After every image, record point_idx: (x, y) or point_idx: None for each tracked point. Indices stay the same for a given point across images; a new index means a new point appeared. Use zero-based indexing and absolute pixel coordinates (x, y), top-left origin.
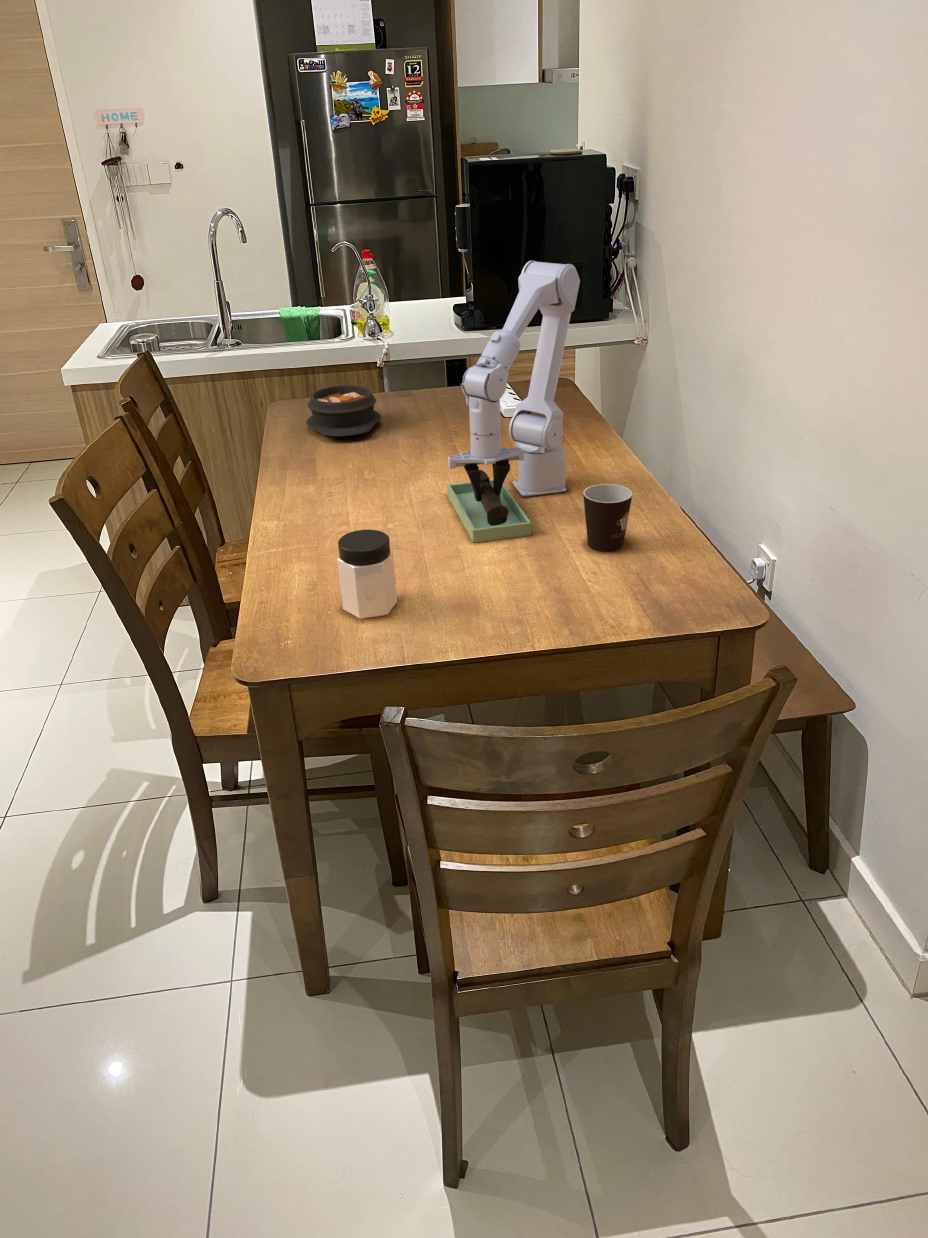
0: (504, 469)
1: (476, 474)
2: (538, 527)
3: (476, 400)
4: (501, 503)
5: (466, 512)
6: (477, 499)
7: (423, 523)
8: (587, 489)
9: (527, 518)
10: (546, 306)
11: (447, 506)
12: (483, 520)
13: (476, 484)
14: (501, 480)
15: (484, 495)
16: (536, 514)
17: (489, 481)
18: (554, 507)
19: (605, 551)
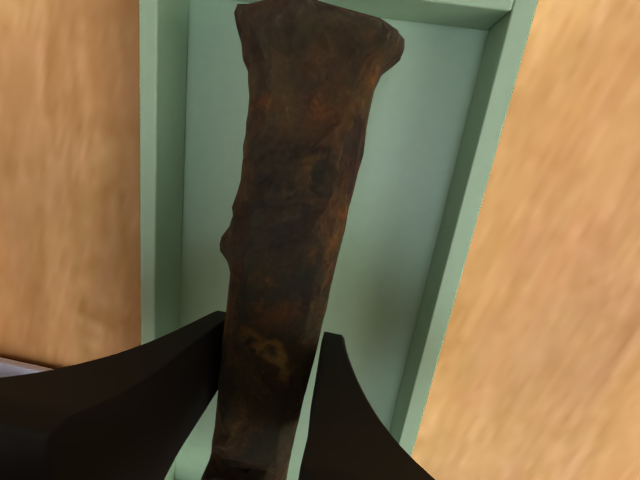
0: (6, 397)
1: (354, 465)
2: (123, 62)
3: None
4: (246, 131)
5: (382, 351)
6: (343, 339)
7: (609, 357)
8: None
9: (142, 28)
10: None
11: (419, 451)
12: (346, 235)
13: (347, 400)
14: (133, 360)
15: (312, 306)
16: (97, 206)
17: (209, 461)
18: (11, 237)
19: None
